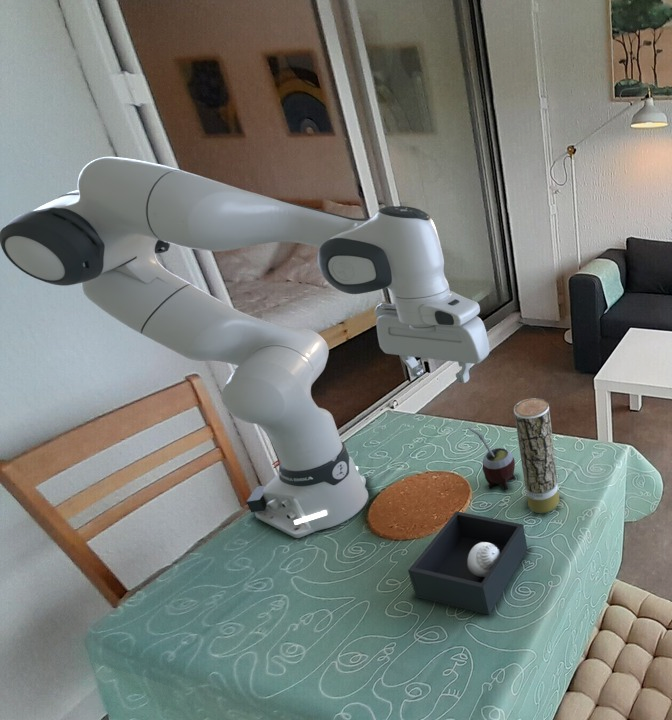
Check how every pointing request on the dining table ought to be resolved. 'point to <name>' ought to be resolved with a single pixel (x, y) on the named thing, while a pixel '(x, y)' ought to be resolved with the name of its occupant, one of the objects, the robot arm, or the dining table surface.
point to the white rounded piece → (482, 558)
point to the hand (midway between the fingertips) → (440, 378)
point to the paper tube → (537, 454)
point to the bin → (450, 556)
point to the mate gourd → (497, 465)
